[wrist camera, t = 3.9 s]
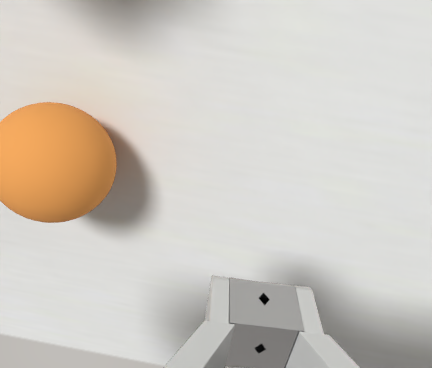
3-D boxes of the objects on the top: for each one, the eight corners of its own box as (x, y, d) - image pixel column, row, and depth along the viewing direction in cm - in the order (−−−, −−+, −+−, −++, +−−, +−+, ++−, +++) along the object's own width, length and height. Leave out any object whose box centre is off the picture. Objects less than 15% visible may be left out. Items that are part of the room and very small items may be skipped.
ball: (130, 97, 17) (89, 139, 13) (129, 192, 20) (94, 256, 15) (20, 80, 17) (-65, 116, 13) (33, 178, 20) (-32, 237, 15)
